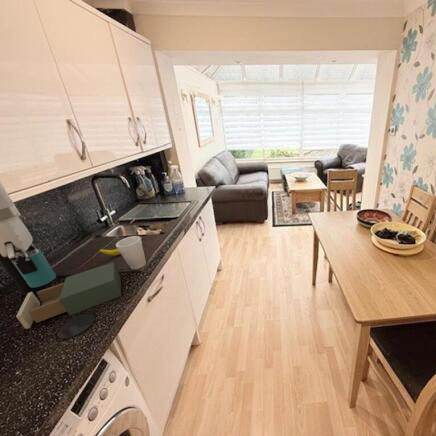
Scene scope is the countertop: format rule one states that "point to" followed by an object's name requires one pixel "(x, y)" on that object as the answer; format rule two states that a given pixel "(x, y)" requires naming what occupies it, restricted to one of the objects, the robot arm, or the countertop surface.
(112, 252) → the banana
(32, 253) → the can
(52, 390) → the countertop surface
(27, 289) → the wine bottle
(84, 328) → the coaster
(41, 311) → the drawer
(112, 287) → the cabinet
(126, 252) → the foam cup
